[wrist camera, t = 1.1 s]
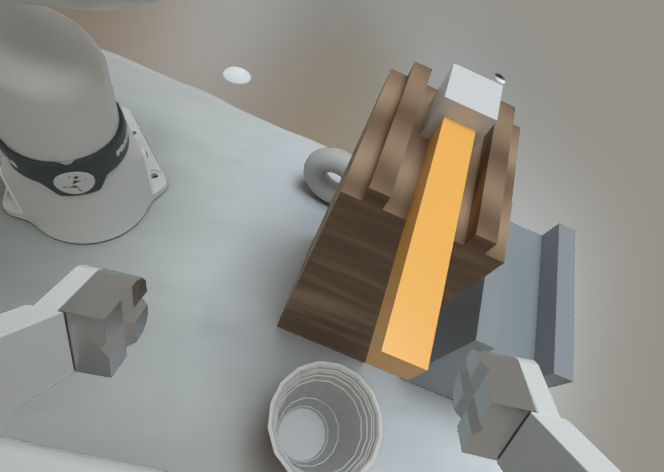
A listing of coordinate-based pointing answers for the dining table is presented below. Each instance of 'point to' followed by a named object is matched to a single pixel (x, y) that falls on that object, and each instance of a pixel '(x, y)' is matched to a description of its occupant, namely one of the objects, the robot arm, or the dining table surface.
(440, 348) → the block
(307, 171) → the donut
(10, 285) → the dining table surface
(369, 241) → the walnut post
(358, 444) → the plastic cup
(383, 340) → the orange squared block
